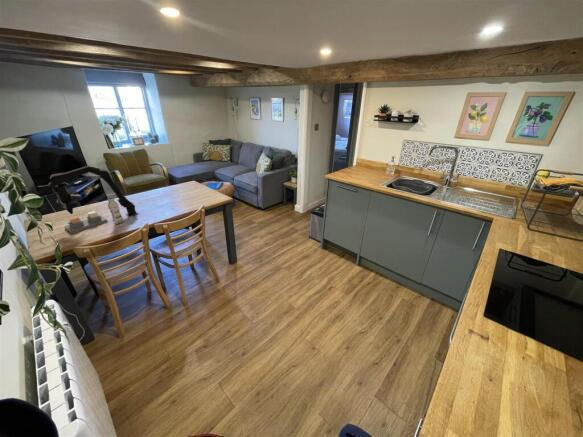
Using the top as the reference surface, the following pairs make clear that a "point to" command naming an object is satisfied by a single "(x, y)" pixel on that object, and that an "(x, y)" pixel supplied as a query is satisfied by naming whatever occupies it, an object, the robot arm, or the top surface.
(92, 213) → the beige cube
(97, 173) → the robot arm
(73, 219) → the orange cube
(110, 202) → the plastic bottle
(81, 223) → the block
